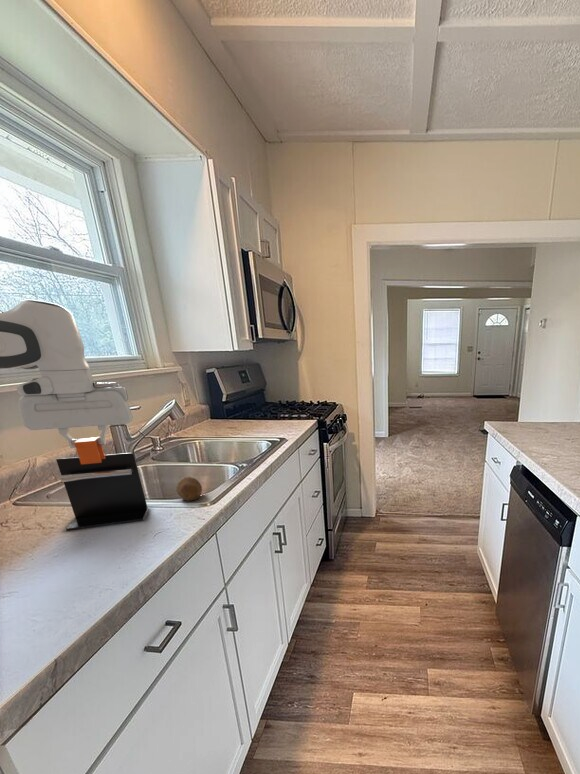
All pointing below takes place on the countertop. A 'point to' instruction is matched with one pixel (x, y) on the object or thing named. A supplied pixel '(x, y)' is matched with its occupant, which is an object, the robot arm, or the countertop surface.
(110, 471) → the oven panel
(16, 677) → the countertop surface
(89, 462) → the block
